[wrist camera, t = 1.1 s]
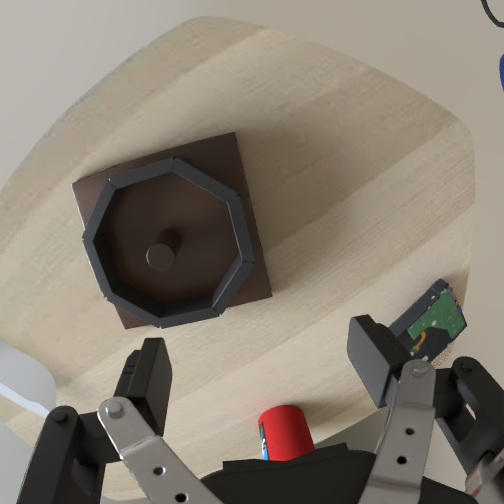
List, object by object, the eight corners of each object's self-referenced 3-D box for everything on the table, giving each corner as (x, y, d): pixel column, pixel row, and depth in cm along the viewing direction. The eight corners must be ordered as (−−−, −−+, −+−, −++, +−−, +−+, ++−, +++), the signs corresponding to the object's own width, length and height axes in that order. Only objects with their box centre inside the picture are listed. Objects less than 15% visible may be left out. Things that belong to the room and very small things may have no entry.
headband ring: (80, 189, 26) (66, 193, 23) (227, 143, 26) (227, 142, 23) (128, 321, 31) (121, 336, 28) (262, 291, 31) (266, 305, 28)
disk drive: (388, 381, 39) (458, 317, 37) (395, 393, 37) (469, 326, 34) (357, 350, 36) (438, 275, 34) (365, 363, 34) (451, 283, 31)
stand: (74, 182, 26) (47, 190, 21) (234, 132, 27) (236, 127, 21) (126, 325, 32) (113, 354, 27) (271, 293, 32) (280, 320, 27)
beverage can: (247, 419, 39) (256, 487, 27) (281, 394, 37) (299, 465, 26) (279, 433, 40) (293, 496, 29) (312, 411, 39) (333, 475, 28)
